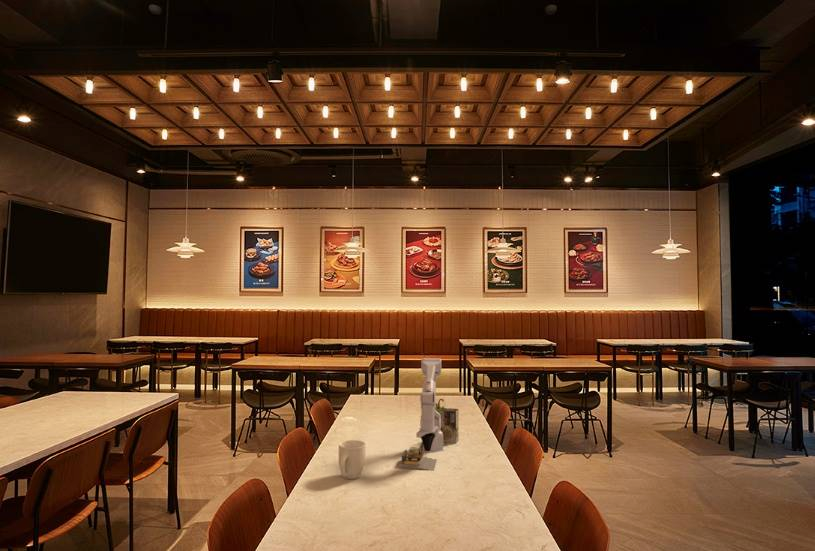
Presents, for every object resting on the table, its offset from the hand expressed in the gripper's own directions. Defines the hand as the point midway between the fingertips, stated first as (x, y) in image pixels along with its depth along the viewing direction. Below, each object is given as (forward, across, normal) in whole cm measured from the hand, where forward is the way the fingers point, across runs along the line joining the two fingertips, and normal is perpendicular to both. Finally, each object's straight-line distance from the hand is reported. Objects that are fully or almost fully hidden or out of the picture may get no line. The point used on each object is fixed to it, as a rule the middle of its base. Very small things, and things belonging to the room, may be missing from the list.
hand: (427, 450), depth 197 cm
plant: (+7, -76, -43) cm, 88 cm away
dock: (+6, +2, -3) cm, 7 cm away
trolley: (+4, +2, -5) cm, 7 cm away
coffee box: (+6, -36, -11) cm, 38 cm away
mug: (+6, +31, -16) cm, 36 cm away
